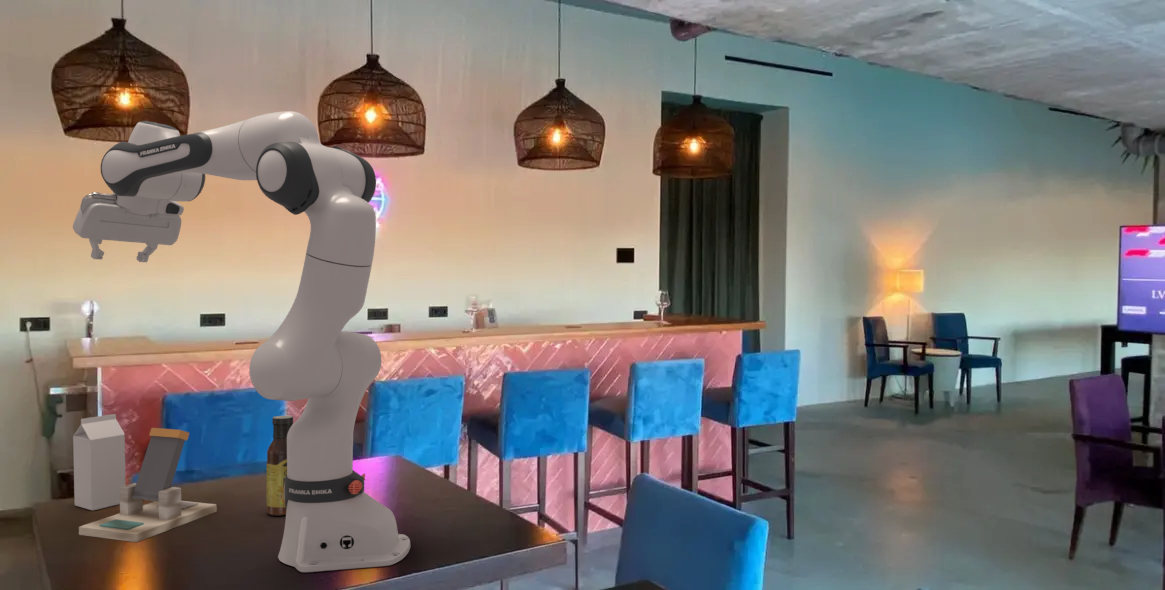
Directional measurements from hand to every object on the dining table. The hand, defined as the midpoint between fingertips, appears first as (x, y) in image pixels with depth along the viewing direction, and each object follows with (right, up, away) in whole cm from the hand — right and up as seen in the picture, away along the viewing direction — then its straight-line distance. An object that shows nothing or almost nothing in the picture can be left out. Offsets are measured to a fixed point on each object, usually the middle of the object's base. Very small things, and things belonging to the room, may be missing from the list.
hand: (119, 259), depth 168 cm
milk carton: (-7, -52, +6) cm, 53 cm away
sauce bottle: (+34, -52, 0) cm, 62 cm away
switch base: (+10, -52, -6) cm, 54 cm away
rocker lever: (+10, -47, -7) cm, 49 cm away
